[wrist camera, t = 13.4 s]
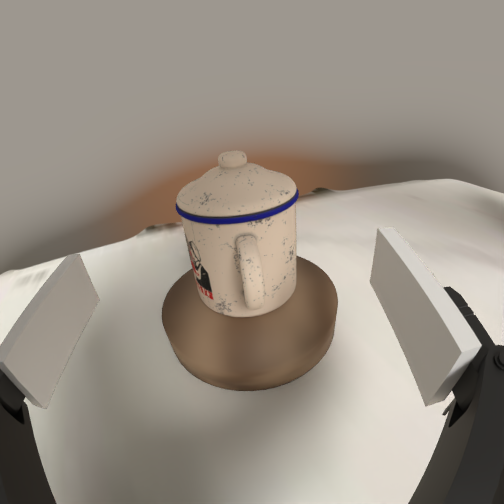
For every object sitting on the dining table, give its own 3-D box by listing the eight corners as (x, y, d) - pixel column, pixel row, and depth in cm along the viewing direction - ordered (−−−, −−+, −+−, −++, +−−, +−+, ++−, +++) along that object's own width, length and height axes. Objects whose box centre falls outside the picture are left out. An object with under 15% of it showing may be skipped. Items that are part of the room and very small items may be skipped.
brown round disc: (317, 267, 32) (318, 244, 30) (352, 379, 19) (359, 355, 18) (185, 278, 33) (180, 256, 31) (156, 390, 20) (142, 368, 18)
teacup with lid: (197, 264, 29) (175, 151, 23) (285, 251, 30) (280, 137, 24) (196, 358, 19) (147, 199, 13) (323, 337, 19) (335, 174, 13)
